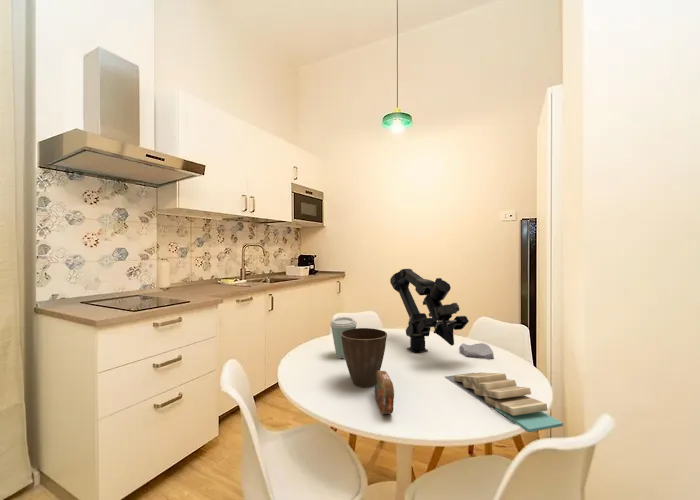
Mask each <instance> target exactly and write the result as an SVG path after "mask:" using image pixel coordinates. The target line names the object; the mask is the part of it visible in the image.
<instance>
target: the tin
mask: <svg viewBox="0 0 700 500" xmlns="http://www.w3.org/2000/svg"><path fill="white" fill-rule="evenodd" d="M394 389H395V387H394V384H393V381H392V379H391V378H390V376H389V374H388V372H387V371H386V370H380V371H378V370H377V371H376V374H375V385H374V397H375V401H376V403H377V406H378V409H379V412H380V414H381V415H392V414H393V412H394V401H395V400H394V399H395V390H394Z"/></svg>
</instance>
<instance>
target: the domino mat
mask: <svg viewBox="0 0 700 500" xmlns="http://www.w3.org/2000/svg"><path fill="white" fill-rule="evenodd" d="M472 373H473V372H469V373H467V374H472ZM464 374H465V373H462V374H460V375H464ZM457 375H458V374H455V375H447V376H444V378H445V379H446V380H448V381H449V382H450V383H452V384H454V385H456V386H457V387H458V388H460V389H461V390H462V391H464V392H465V393H467V394H469V396H470V395H471V396H472V397H474V398H475V400H478V401H479V402H480V403H482V404H483V405H485V406H487V407H488V408H489V409H495V407H494V406H492V405H490V404H488V403H485V397H484V396H479V395H475V394H474V389H472V388H464V387H463V382H458V381H454V376H457Z"/></svg>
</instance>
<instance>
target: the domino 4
mask: <svg viewBox="0 0 700 500" xmlns="http://www.w3.org/2000/svg"><path fill="white" fill-rule="evenodd" d="M484 397H485V396H484ZM485 403H488V404H490V405H492V406H494V407H496V408H498V409H500V410H502V411H505V412H507V413H509V414H511V415H513V416H515V415H521V414H528V413H534V412H541V411H543V412H547V411H548V410H549V409H548V403H546V402H543V401H541V400H538V399H535V398H532V397H529V396H528V395H522V396H515V397H508V398H501V399H497V398H491V397H485Z"/></svg>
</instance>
